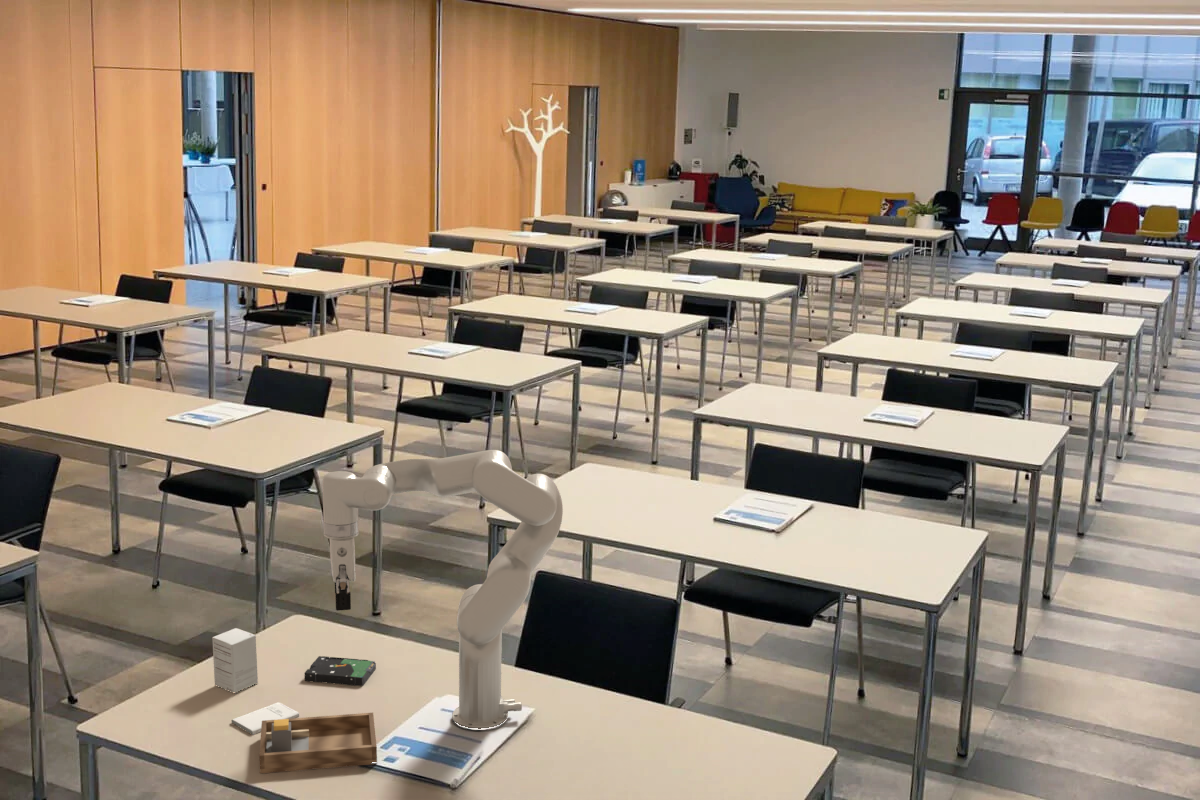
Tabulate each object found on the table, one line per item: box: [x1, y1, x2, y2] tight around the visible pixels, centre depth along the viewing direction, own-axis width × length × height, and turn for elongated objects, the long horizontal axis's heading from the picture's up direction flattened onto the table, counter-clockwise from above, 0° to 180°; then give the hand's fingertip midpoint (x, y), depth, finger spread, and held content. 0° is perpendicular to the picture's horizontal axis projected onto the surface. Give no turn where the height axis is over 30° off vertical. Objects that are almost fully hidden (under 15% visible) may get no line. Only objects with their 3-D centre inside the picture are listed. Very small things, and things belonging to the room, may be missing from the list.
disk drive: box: [304, 655, 377, 687], centre depth 320 cm, size 10×3×15 cm
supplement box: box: [211, 627, 259, 694], centre depth 312 cm, size 7×7×13 cm
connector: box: [271, 719, 292, 753], centre depth 280 cm, size 4×4×6 cm
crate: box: [258, 712, 378, 774], centre depth 283 cm, size 24×16×4 cm, turn 102°
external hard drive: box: [231, 701, 300, 736], centre depth 296 cm, size 2×8×12 cm
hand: (342, 601), depth 291 cm, fingers open, 9 cm apart
